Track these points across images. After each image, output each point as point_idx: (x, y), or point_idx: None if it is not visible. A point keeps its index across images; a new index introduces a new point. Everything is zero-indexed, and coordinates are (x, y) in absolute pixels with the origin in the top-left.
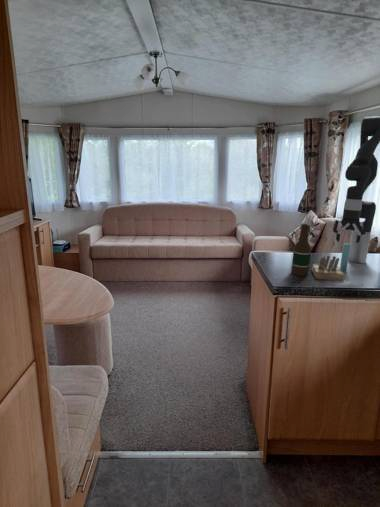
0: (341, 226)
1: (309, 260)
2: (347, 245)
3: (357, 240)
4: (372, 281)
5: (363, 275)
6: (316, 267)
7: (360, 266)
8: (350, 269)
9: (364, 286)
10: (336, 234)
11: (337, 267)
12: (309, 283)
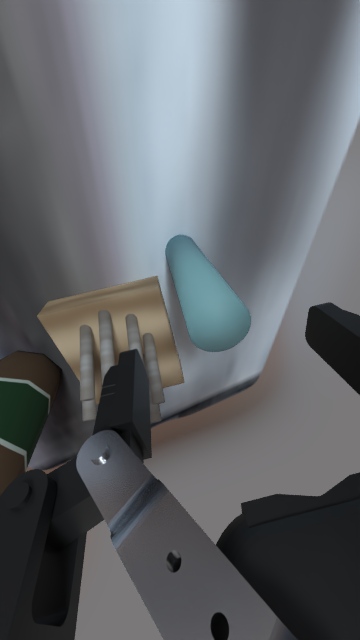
0: (152, 610)
1: (40, 419)
2: (219, 347)
3: (328, 356)
4: (272, 323)
5: (261, 264)
6: (74, 355)
7: (302, 30)
8: (220, 179)
9: (234, 376)
10: (96, 430)
11: (157, 308)
12: None
